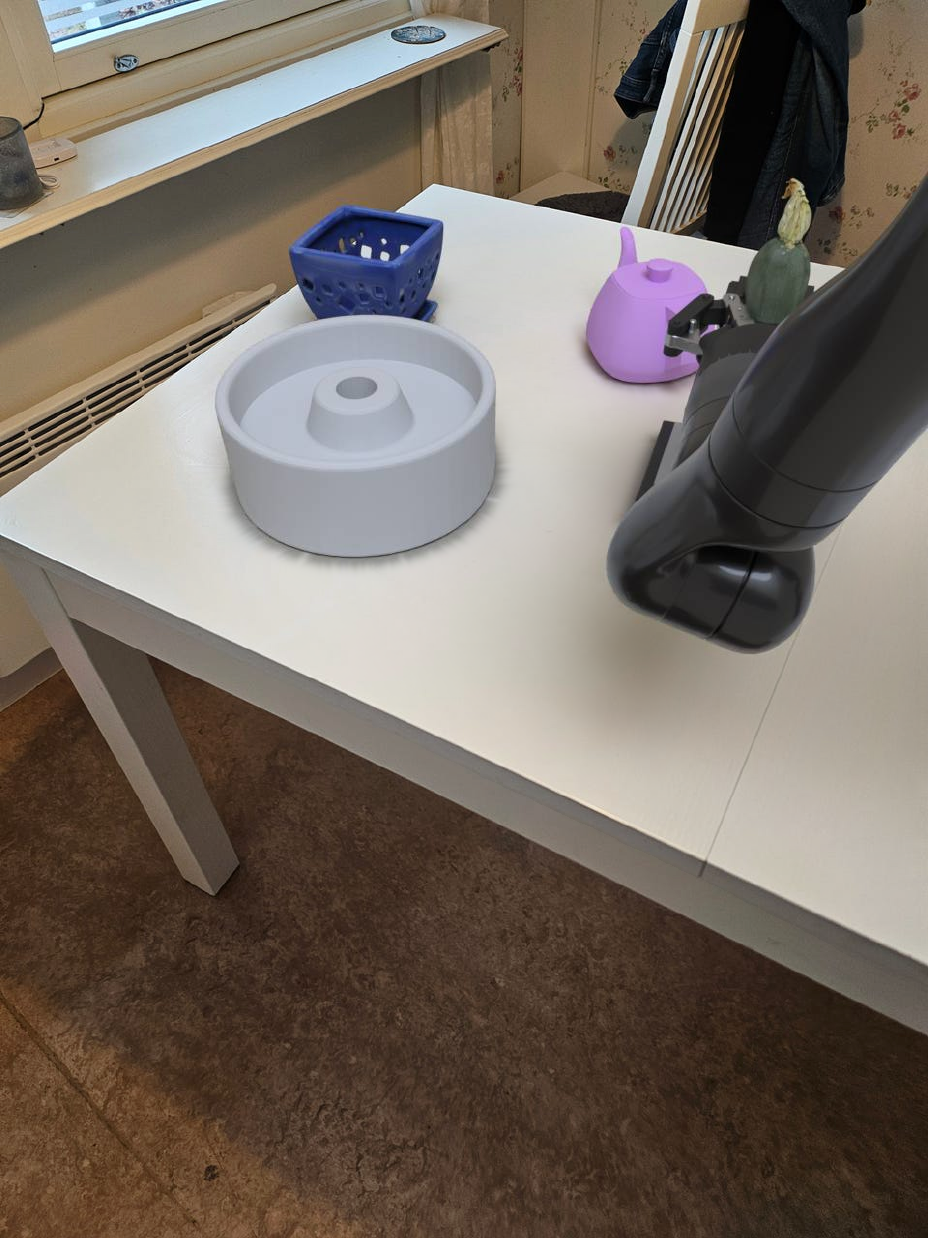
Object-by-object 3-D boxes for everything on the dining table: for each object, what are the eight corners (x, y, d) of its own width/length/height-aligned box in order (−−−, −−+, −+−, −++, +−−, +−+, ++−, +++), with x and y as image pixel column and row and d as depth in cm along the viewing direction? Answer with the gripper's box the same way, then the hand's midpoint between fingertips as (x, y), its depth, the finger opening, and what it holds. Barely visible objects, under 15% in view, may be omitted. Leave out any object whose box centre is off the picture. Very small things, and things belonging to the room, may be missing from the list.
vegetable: (769, 445, 73) (843, 196, 58) (717, 445, 73) (778, 197, 58) (757, 415, 76) (825, 172, 61) (707, 415, 76) (763, 172, 61)
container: (247, 407, 93) (228, 320, 85) (480, 393, 94) (480, 306, 87) (224, 568, 76) (197, 476, 68) (509, 549, 77) (512, 456, 70)
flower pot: (351, 297, 109) (340, 199, 100) (449, 316, 106) (446, 216, 97) (300, 349, 101) (283, 247, 92) (404, 371, 97) (397, 266, 89)
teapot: (662, 306, 107) (677, 214, 98) (737, 393, 93) (762, 295, 85) (559, 321, 104) (565, 228, 96) (621, 412, 91) (635, 313, 83)
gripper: (880, 375, 52) (886, 257, 64) (646, 337, 56) (690, 231, 67) (842, 475, 58) (854, 350, 69) (631, 435, 61) (674, 322, 72)
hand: (773, 292), depth 68 cm, fingers closed on vegetable, 4 cm apart
